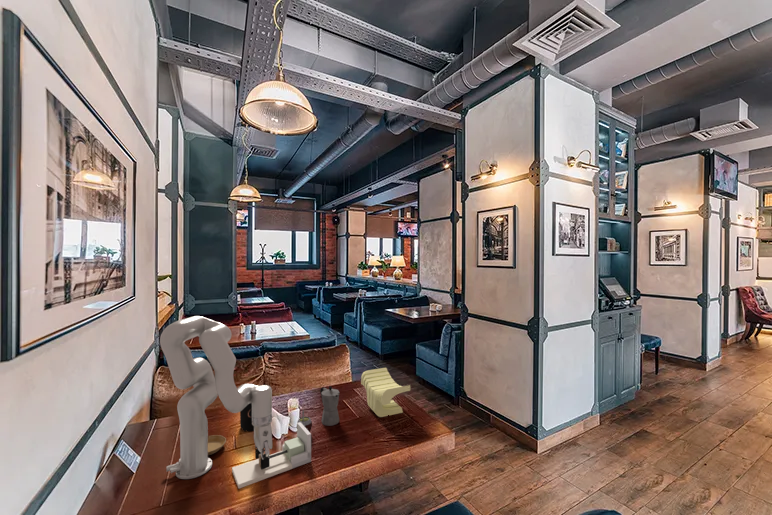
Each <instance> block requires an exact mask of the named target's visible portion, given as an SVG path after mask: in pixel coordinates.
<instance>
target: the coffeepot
mask: <svg viewBox="0 0 772 515" xmlns="http://www.w3.org/2000/svg"><path fill="white" fill-rule="evenodd" d="M319 391H320V397H321V402H322V405H323V408H322V409H323V410H322V415H321V424H322V425H324V426H327V427H329V426H330V427H332V426H335V425H338V424H339V422H340V417H339V416H340V415H339V411H338V405H339V397H340V391H339V389H336V388H333V387H332V386H328V388H327V387H324V386H323V387H321V388H320V390H319Z"/></svg>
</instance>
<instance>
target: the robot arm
mask: <svg viewBox="0 0 772 515" xmlns="http://www.w3.org/2000/svg"><path fill="white" fill-rule="evenodd" d="M232 334H233V333H232V330H231V329H230V328H229V326H227V325H226V324H223V323H221V322H219V321H215V320H213V319H210V318H207V317H204V316H200V315H194V316H190V317H186V318H182V319H179V320H176V321H173V322H172V323H171V324H169V325H167V326H166V327H165V328H164V329H163V331H162V332H161V334H160V339H159V342H160V343H159V344H160V347H161V348H160V349H161V350H162V353H163V354H164V356H165V359H166V363H167V366H168V369H169V372H170V376H171V377H172V381H173V384H174V386H175V387H176V388H177V389H179V390H186V389H189V388H191V387H192V388H191V389H190V390H188V391H187V392H185V393H184V394H183V395H182V396H181V398H180V399H179V400H178V402H177V407H176V408H177V409H176V410H177V415H178V418H179V436H180V439H179V440H180V441H179V442H180V443H179V444H180V445H179V448H180V452H179V454H180V455H179V456H180V458H179V459H178V461H177V462H175V463H174V464H169V465H167V466H166V472H170V474H173V473H175V476H176V477H177V478H178V479H180V480H191V479H195V478H198V477H201V476H202V475H204V474H206V473H208V471H209V470H211V468H212V467H213V460H212V459H211V458H210V457H209V455H208V436H209V431H208V430H209V428H208V425H209V424H208V418H207V414H206V413H205V410H206V409H207V408H208V406H210V405H211V404H212V403H214V402H215V401H216V399H217V398H219V399H220V401H221V403H222V405H223V406H224V408H225V409H226V410H227V411H228V412H229V413H232V414H238V413H240V411H242V410H243V409H244V408H245V407H246V406H247V405H248V404H250V403H252V425H253V426H254V431H253V441H254V445H255V450H254V451H255V452H254V453H255V454H254V455H255V456H254V458H255V460H256V459H259V454H261V458H262V459H261V470H262V469H265V468H268V467H269V466H270V463H269V457H270V456H269V455H271V454H270V453H271V452H270V450H272V449H273V433H272V431H273V430H272V425H271V424H272V421H273V390H272V387H271V386H270V385H267V384H263V385H256V384H253V383H244V384H243V383H242V384H241V385H240V386H238V387H237V386H236V384H235V379H234V371H235V369H236V368H235V367H236V364H237V363H236V362H237V358H236V356H235V354H234V352H233V351H232V349H231V347H230V345H229V342H230V340H231V339H232ZM196 337H198V342H199V345H200V347H201V348H202V350H203V352H204V354H205V356H206V357H207V359H205V358H203V357H193V354H192V350H191V349H190V348H189V346H188V345H187V344H186V343H185V342H186V341H188V340H191V339H194V338H196ZM213 370H214V371H213ZM263 453H264V455H263Z"/></svg>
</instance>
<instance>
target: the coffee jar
mask: <svg viewBox="0 0 772 515" xmlns="http://www.w3.org/2000/svg"><path fill="white" fill-rule="evenodd" d="M239 417H240V419H239V421H240V422H239V424H240V426H239V427H240V429H241V430H242V431H244V432H254V426H253V425H252V403H250V404H248V405H247V406H246V407H245V408H244V409H243V410H242V411H240V412H239Z"/></svg>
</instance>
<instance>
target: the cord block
mask: <svg viewBox="0 0 772 515" xmlns="http://www.w3.org/2000/svg"><path fill="white" fill-rule="evenodd" d="M283 442H284V443H283V444H284V451H283V450H281V451H282V452H280V451H278V452H279V453H277V452H275V453H276V454H274V453H272V454H273V455H271V454H270V455H271V456H270V457H269V459H270V458H273V457H276V456H279V455H282V454H285V455H286V456H287V458H288V459H289V461H291V457H292V456H295V455H298V454H300V453H303V452H304V444H303V442H302V441H301V440H300V439H299V437H297V436H296V437H293V438H291V439H287V440H285V441H283ZM264 454H265V452H264V453H263V455H264ZM258 459H259V466H260V467H261V459H262V458H261V454H259V458H258Z"/></svg>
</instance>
